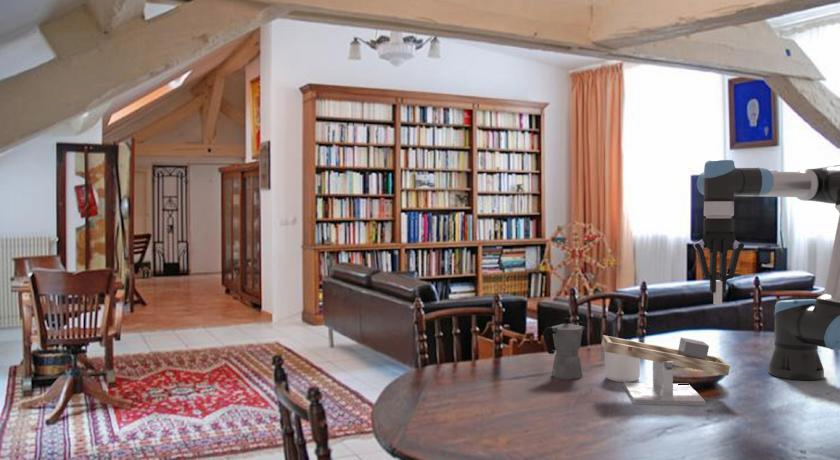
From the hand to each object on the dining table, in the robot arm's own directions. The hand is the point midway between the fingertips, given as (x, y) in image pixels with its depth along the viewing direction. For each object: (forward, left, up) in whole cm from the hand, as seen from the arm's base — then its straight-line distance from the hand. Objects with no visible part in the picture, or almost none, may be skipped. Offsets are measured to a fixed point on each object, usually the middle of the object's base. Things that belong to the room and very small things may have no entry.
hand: (717, 304), depth 193 cm
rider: (+7, 0, -15) cm, 17 cm away
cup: (+22, -18, -26) cm, 38 cm away
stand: (+14, 0, -25) cm, 29 cm away
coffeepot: (+39, -20, -26) cm, 51 cm away
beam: (+14, 0, -15) cm, 21 cm away
